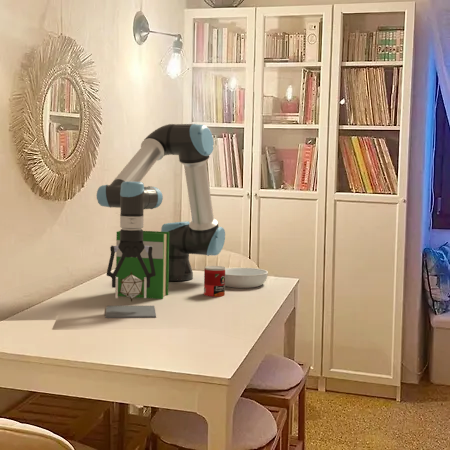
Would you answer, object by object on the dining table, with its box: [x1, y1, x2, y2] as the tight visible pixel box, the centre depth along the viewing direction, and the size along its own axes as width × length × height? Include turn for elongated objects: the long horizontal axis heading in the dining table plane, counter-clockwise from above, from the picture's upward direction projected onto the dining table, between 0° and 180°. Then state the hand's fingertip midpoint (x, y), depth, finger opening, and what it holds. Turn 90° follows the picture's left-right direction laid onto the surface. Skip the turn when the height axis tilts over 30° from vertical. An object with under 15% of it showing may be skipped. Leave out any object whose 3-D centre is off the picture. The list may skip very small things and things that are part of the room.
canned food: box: [203, 265, 226, 298], centre depth 264 cm, size 8×8×11 cm
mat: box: [104, 305, 157, 319], centre depth 234 cm, size 16×16×1 cm
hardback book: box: [115, 230, 169, 300], centre depth 260 cm, size 18×7×24 cm, turn 78°
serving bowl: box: [225, 267, 269, 289], centre depth 284 cm, size 21×21×7 cm
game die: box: [118, 272, 144, 302], centre depth 233 cm, size 9×8×10 cm
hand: (130, 297), depth 234 cm, fingers closed on game die, 9 cm apart
